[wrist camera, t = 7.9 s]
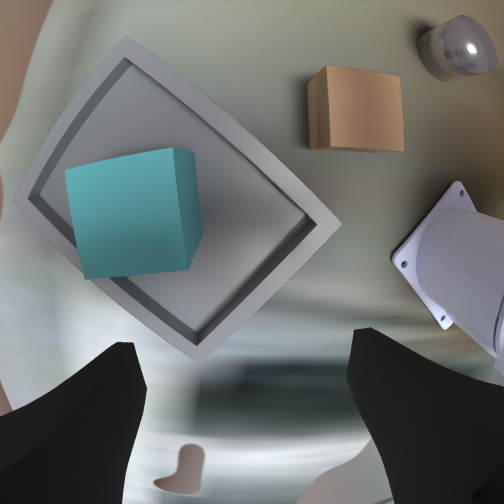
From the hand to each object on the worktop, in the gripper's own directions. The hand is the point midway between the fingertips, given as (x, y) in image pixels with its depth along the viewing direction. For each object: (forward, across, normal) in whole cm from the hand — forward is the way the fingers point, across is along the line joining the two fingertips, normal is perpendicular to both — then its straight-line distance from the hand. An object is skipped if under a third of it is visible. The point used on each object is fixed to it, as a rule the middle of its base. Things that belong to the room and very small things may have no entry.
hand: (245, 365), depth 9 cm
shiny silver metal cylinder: (+10, -15, -15) cm, 23 cm away
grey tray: (+9, +4, -4) cm, 11 cm away
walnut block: (+10, -6, -9) cm, 15 cm away
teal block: (+9, +4, -4) cm, 11 cm away
